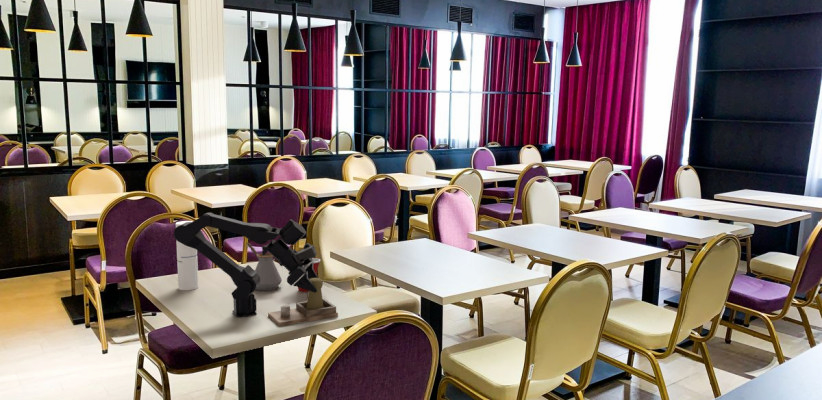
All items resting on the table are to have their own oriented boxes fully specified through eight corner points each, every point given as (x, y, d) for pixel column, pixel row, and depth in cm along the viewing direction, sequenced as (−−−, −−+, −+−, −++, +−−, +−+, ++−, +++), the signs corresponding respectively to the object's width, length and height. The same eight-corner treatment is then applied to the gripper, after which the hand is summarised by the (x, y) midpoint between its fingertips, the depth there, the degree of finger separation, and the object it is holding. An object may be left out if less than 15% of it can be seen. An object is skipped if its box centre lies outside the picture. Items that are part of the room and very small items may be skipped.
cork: (315, 314, 204) (314, 282, 203) (302, 311, 208) (301, 279, 206) (328, 310, 209) (327, 278, 208) (314, 306, 213) (314, 275, 211)
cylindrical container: (194, 290, 234) (191, 224, 231) (175, 290, 234) (172, 224, 231) (201, 285, 241) (198, 221, 238) (182, 284, 241) (179, 220, 238)
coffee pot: (287, 288, 238) (286, 249, 236) (259, 293, 231) (258, 254, 229) (261, 276, 255) (260, 240, 252) (234, 281, 247) (233, 244, 245)
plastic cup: (325, 287, 240) (325, 256, 239) (313, 295, 230) (313, 263, 228) (299, 284, 243) (299, 254, 241) (286, 292, 233) (286, 261, 231)
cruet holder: (279, 326, 197) (278, 313, 196) (268, 316, 206) (267, 303, 206) (337, 316, 207) (337, 304, 206) (324, 307, 216) (324, 295, 216)
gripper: (296, 243, 196) (332, 278, 198) (306, 232, 214) (338, 264, 216) (271, 268, 197) (307, 302, 199) (283, 254, 215) (315, 286, 217)
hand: (318, 287), depth 208 cm, fingers open, 9 cm apart
